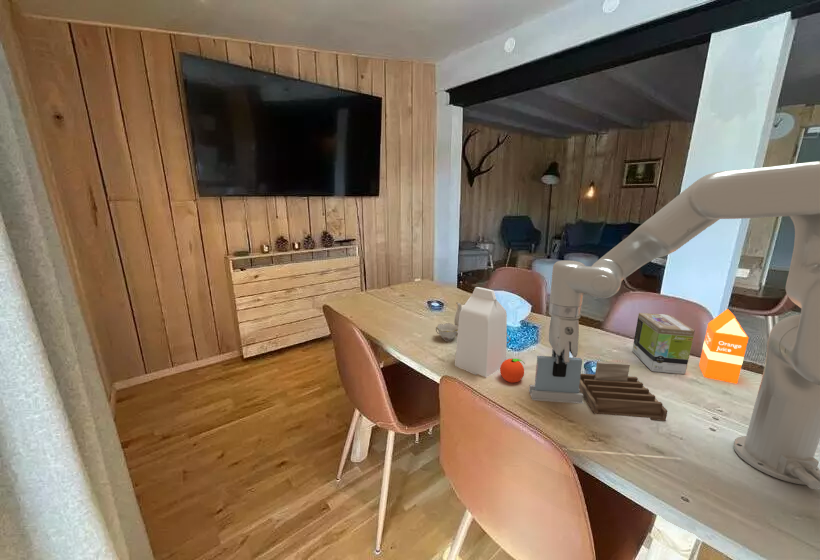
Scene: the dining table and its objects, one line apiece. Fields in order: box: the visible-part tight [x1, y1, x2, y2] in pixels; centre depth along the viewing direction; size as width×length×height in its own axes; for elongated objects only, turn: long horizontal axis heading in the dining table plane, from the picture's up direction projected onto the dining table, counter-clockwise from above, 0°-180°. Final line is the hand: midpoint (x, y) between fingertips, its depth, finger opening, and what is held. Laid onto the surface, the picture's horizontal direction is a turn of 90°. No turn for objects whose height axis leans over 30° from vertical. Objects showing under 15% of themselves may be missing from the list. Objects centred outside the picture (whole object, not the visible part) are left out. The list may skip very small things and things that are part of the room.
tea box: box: [632, 312, 695, 375], centre depth 113 cm, size 15×10×15 cm
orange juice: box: [698, 308, 749, 384], centre depth 104 cm, size 8×9×20 cm
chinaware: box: [435, 301, 511, 344], centre depth 131 cm, size 28×17×17 cm, turn 77°
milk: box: [454, 286, 508, 378], centre depth 109 cm, size 12×12×26 cm
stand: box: [528, 384, 584, 405], centre depth 94 cm, size 5×13×3 cm, turn 82°
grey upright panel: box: [534, 355, 583, 393], centre depth 93 cm, size 1×11×11 cm, turn 82°
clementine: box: [499, 358, 526, 384], centre depth 103 cm, size 8×7×7 cm
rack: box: [579, 360, 668, 422], centre depth 92 cm, size 14×17×9 cm
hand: (557, 374), depth 93 cm, fingers closed on grey upright panel, 1 cm apart
